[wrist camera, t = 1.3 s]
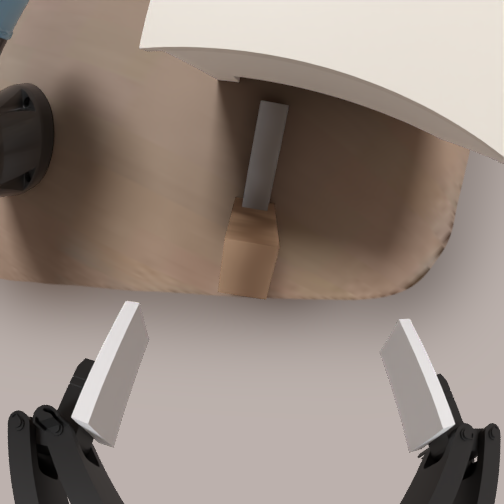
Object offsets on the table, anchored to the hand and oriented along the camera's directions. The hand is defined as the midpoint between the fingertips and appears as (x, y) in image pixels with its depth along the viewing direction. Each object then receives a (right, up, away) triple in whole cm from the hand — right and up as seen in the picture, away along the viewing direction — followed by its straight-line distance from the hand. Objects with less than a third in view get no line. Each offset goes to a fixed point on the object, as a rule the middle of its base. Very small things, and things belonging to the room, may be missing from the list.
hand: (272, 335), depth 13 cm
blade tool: (0, +11, +13) cm, 17 cm away
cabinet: (+7, +23, +6) cm, 24 cm away
